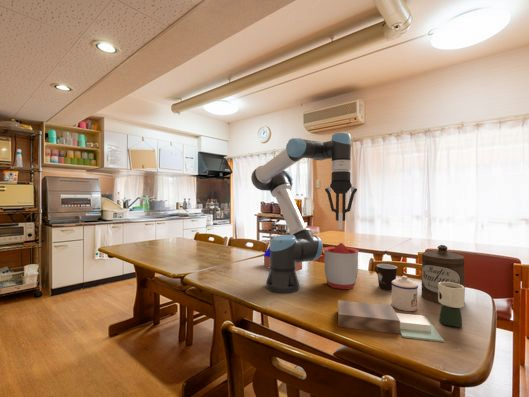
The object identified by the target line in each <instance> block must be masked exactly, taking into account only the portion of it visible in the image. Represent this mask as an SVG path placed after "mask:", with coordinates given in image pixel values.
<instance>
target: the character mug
mask: <svg viewBox="0 0 529 397" xmlns="http://www.w3.org/2000/svg"><path fill="white" fill-rule="evenodd" d="M438 302H440V303H441V308H440V313H439V319H438V320H439V322H440V323H441V324H443V325H447V326H449V327H462V326H463V319H462V318H463V317H462V311H461V309H462V308H464V307H465V299H464V286H462V285H460V284H457V283H452V282H439V283H438ZM440 303H439V304H440Z"/></svg>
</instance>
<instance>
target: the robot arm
mask: <svg viewBox="0 0 529 397" xmlns="http://www.w3.org/2000/svg"><path fill="white" fill-rule="evenodd" d="M351 139H352V137H351V134H350V133H348V132H336V133H333V134H332V135H331V139H330V140H329V141H317V140H311V139H310V140H309V139H304V138H300V137H298V138H297V137H296V138H294V137H293V138H290V139H289V140H288V141H287V143H286V144H285V149H283V150H282V151H281V152H279V153H278V154H277V155H276V156H274V157H273V158H271V159H270V160H269V161H267V162H266V163H265V164H263V165H259V166H258V167H256V168H255V169H254V170H253V171H252V173H251V179H250V180H251V183H252V185H253V186H254V187H255V188H256V189H258V190H260V191H267V192H268V191H269V192H270V194H271V197H273V198H275V199H276V201H277V204H278V206H279V207H278V208H280V211H281V214H282V216H283V219H284V222H285V224H286V226H287V228H288V230H289V234H281V235H276V236H274V237H272V238H271V239H270V242H269V247H270V268H269V272H268V274H267V278H266V280H265V289H266V290H268V291H269V292H272V293H277V294H278V293H279V294H290V293H295V292H297V291H298V290H299V289H300V282H299V278H298V275H297V271H295V264H296V263H299V262H302V263H305V262H313V261H315V260H318V259H319V258H320V257H321V256H322V254H323V250H324V248H323V247H324V246H323V244H324V243H323V240H322V239H321V237H319V236H317V235H314V233H313V231H312V229H310V228H307V225H306V223H305V221H304V219H303V216H302V214H301V212H300V210H299V208H298V206H297V203H296V201H295V199H294V196H293V195H292V194H293V193H291V191H292V188H293V187H292V186H293V181H294V180H293V178H292V175H291V173H290V172H289V171H287V169H288V168H290V167H291V166H293V165H294V164H296V163H297V162H299V161H301V160H302V159H312V160H314V161H324V160H330V159H331V171H332V172H331V178H330V179H331V182H330V184H329V185H330V186H328V187H326V188H324V191H325V193H326V194H327V197H328V202H329V206H330V210H331V212H334V213H335V221H336V222H338V223H337V224H338V225H337V226H338V227H337V228H338V230H343V222H346V214H347V213H350V211H351V210H352V206H353V201H354V198H355V194H356V192H358V189H357V188H355V187H354V186H353V185H352V182H351V174H352V173H351V163H352V162H351V152H352V151H351V148H352V142H351V141H352V140H351ZM331 191H333V193H334V194H335V207H334V203H333V198H332V195H331V194H332V193H331ZM349 191H350V192H351V193H350V196H349V200H348V204H347V207H346V202H347V200H346V199H347V198H346V195H347V194H348V192H349ZM340 194H341V195H342V196H341V198H342V199H341V200H342V202H341V206H342V208H341V209H342V210H341V211H342V212H340Z"/></svg>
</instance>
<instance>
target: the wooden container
mask: <svg viewBox="0 0 529 397" xmlns="http://www.w3.org/2000/svg"><path fill="white" fill-rule="evenodd" d="M437 249H438V250H437V251H435V250H434V251H432V250H431V251H423V252H422V254H421V260H422V263H421V264H422V266H421V296H422V298H424V299H425V300H427V301H430V302H433V303H436V304H441V303H440V302H438V283H439V282H452V283H457V284H460V285H462V286H464V300H465V291H466V289H465V288H466V287H465V284H466V283H465V282H466V280H465V278H466V277H465V256H463V255H461V254H458V253H455V252H449V251H447V250H448V246H446V245H444V244H440V245H438V246H437ZM441 305H442V304H441Z"/></svg>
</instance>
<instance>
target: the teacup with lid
mask: <svg viewBox="0 0 529 397" xmlns="http://www.w3.org/2000/svg"><path fill="white" fill-rule="evenodd" d="M391 284H392V291H391V305H392V307H393V308H395V309H396V310H400V311H404V312H415V311H417V310H418V289H419V284H418V283H417V282H414V281H413V280H411V279H409V278H408V276H406V275H402V276H401V277H399V278H396V279H395V280H393V281H392V282H391Z"/></svg>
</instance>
